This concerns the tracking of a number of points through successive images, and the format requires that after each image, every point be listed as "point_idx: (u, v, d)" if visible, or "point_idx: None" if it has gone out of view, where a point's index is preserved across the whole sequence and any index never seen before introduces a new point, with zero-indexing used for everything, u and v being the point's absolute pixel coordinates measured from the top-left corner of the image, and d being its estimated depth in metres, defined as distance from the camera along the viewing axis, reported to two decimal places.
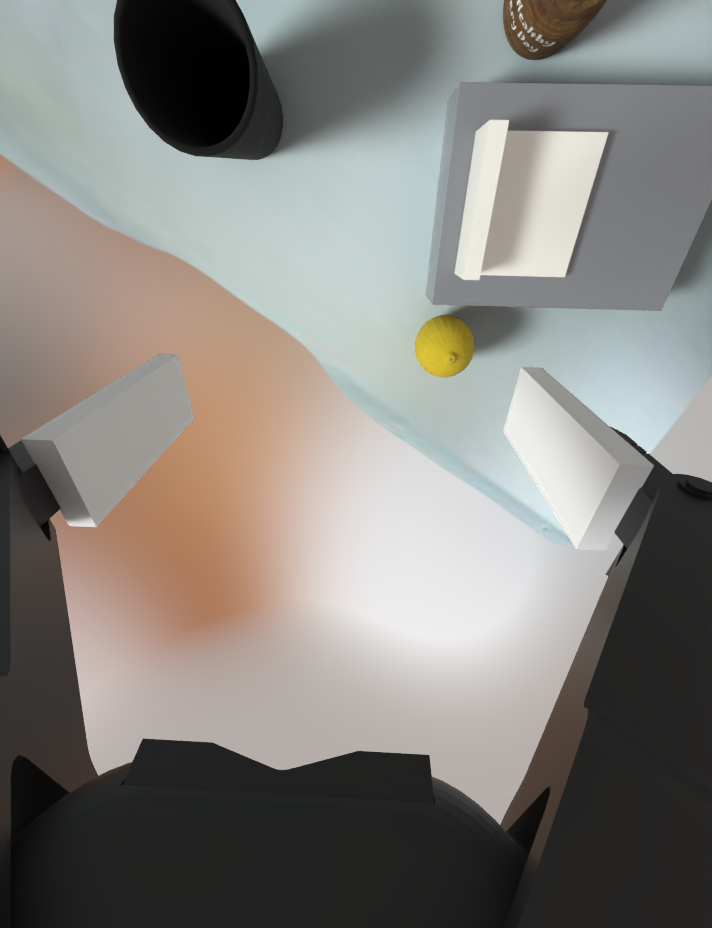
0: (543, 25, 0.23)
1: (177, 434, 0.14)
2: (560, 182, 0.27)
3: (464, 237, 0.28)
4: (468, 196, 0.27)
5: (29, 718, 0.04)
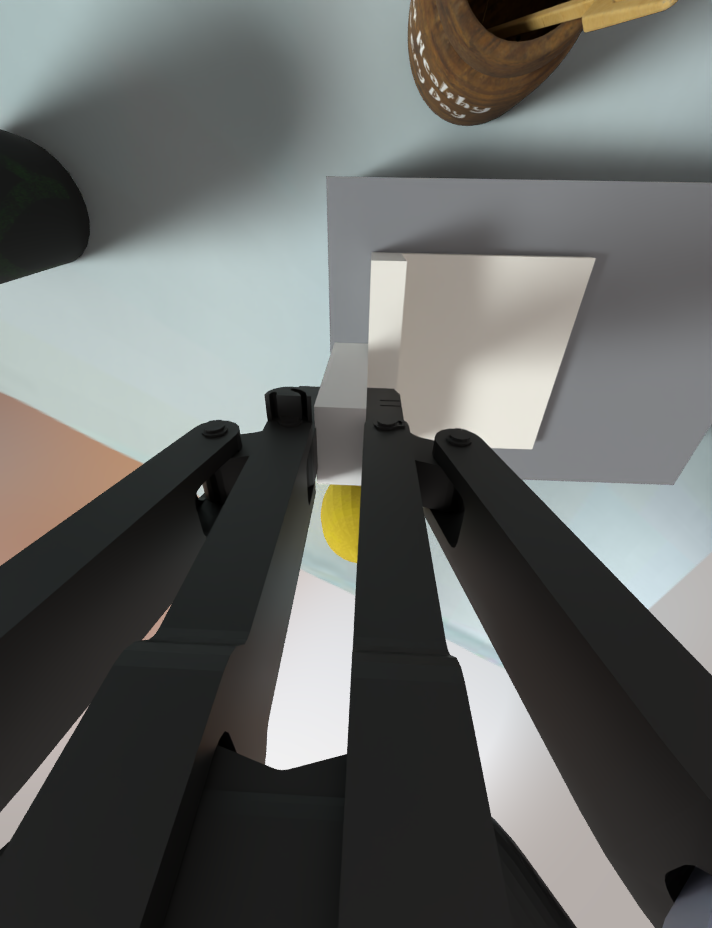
0: (462, 82, 0.13)
1: None
2: (517, 328, 0.16)
3: None
4: None
5: (244, 689, 0.05)
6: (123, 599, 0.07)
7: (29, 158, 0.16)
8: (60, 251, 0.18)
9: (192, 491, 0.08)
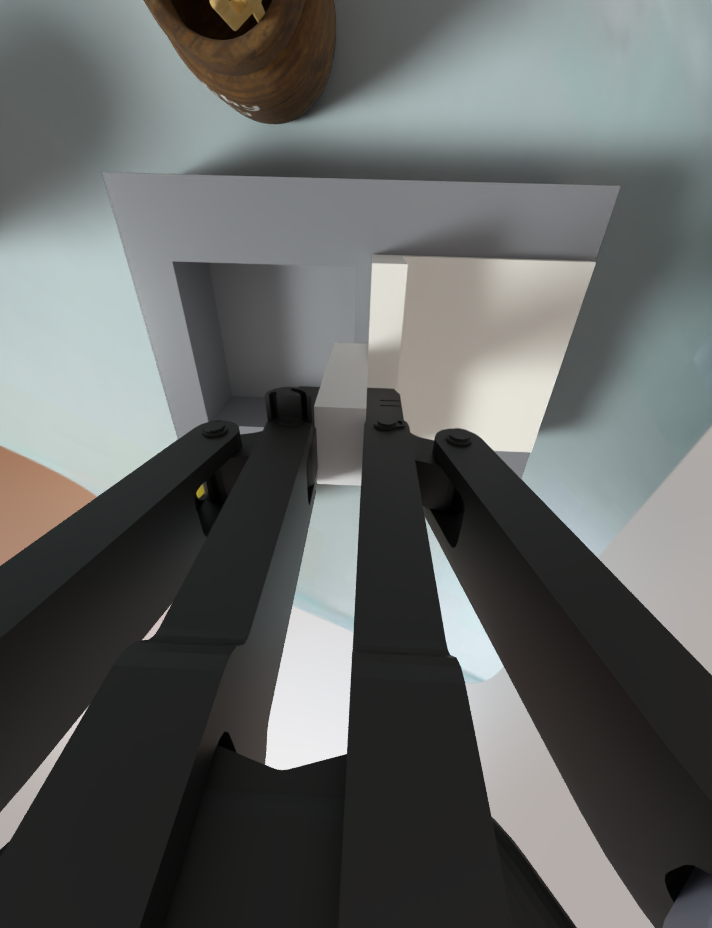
0: (210, 80, 0.13)
1: None
2: (517, 331, 0.16)
3: None
4: None
5: (244, 688, 0.05)
6: (123, 599, 0.07)
7: None
8: None
9: (192, 490, 0.08)
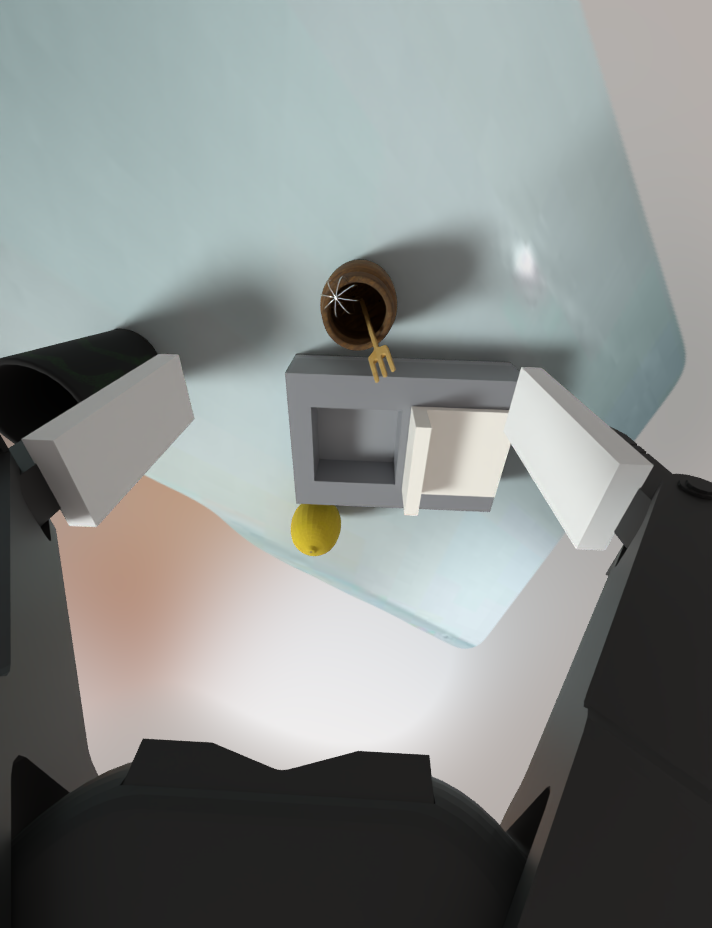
0: None
1: (177, 434, 0.14)
2: (484, 441, 0.32)
3: (405, 478, 0.33)
4: (407, 449, 0.33)
5: (29, 718, 0.04)
6: None
7: (137, 349, 0.32)
8: None
9: None
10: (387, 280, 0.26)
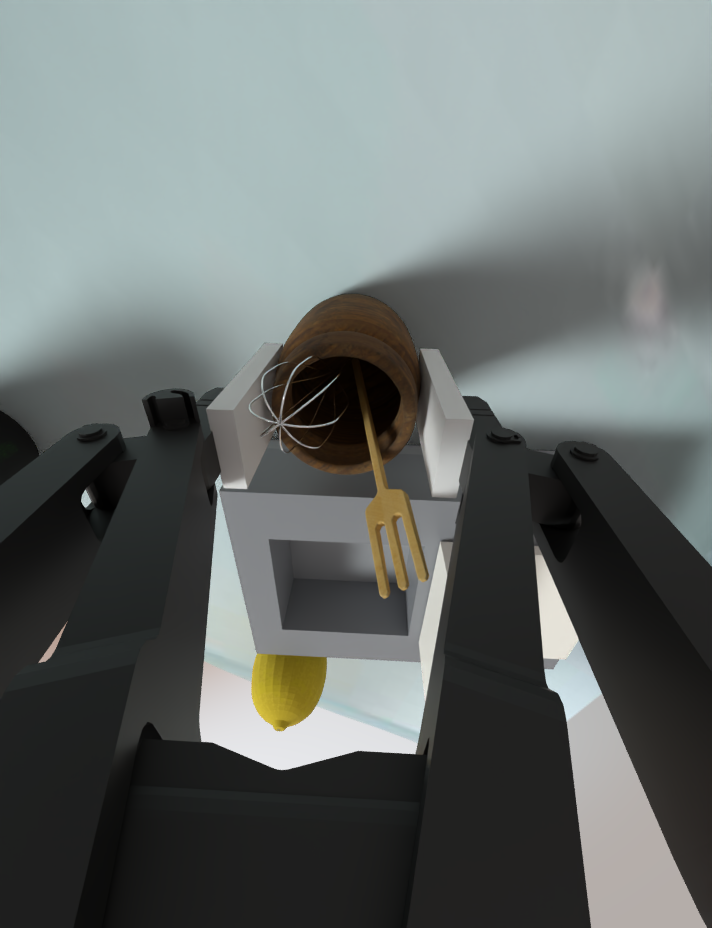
0: None
1: None
2: None
3: (427, 646, 0.20)
4: (432, 604, 0.20)
5: (163, 682, 0.05)
6: (14, 613, 0.06)
7: None
8: None
9: (76, 495, 0.08)
10: (403, 342, 0.13)
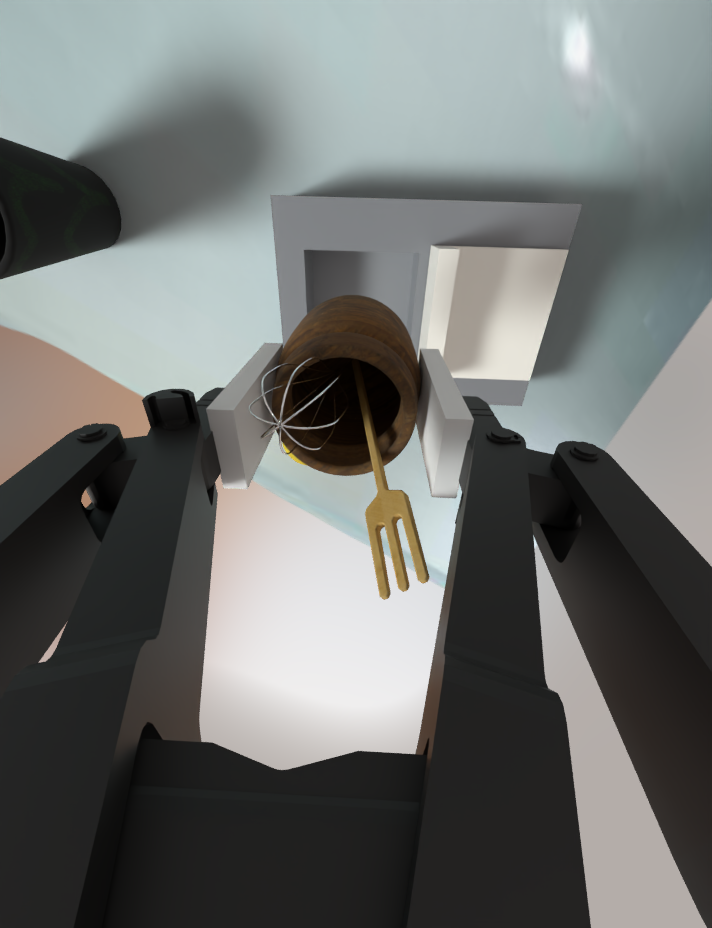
0: None
1: None
2: (520, 294, 0.26)
3: (422, 347, 0.27)
4: (425, 307, 0.26)
5: (163, 683, 0.05)
6: (14, 613, 0.06)
7: (87, 180, 0.26)
8: (103, 239, 0.28)
9: (76, 495, 0.08)
10: (403, 343, 0.13)
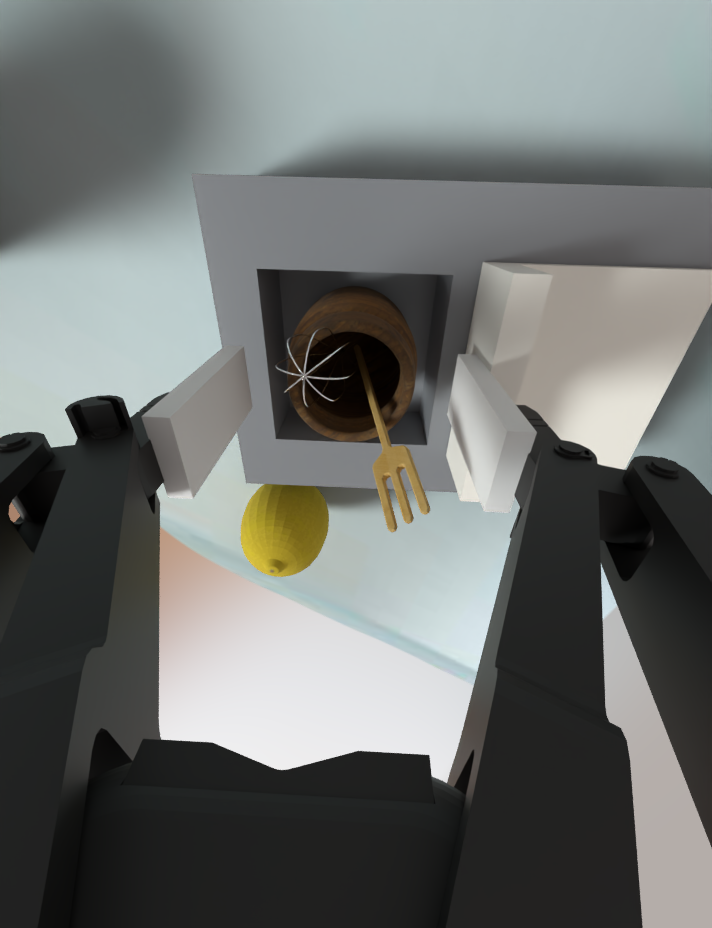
0: None
1: (241, 420, 0.15)
2: (630, 344, 0.15)
3: None
4: None
5: (115, 689, 0.05)
6: None
7: None
8: None
9: (2, 506, 0.07)
10: (401, 323, 0.15)
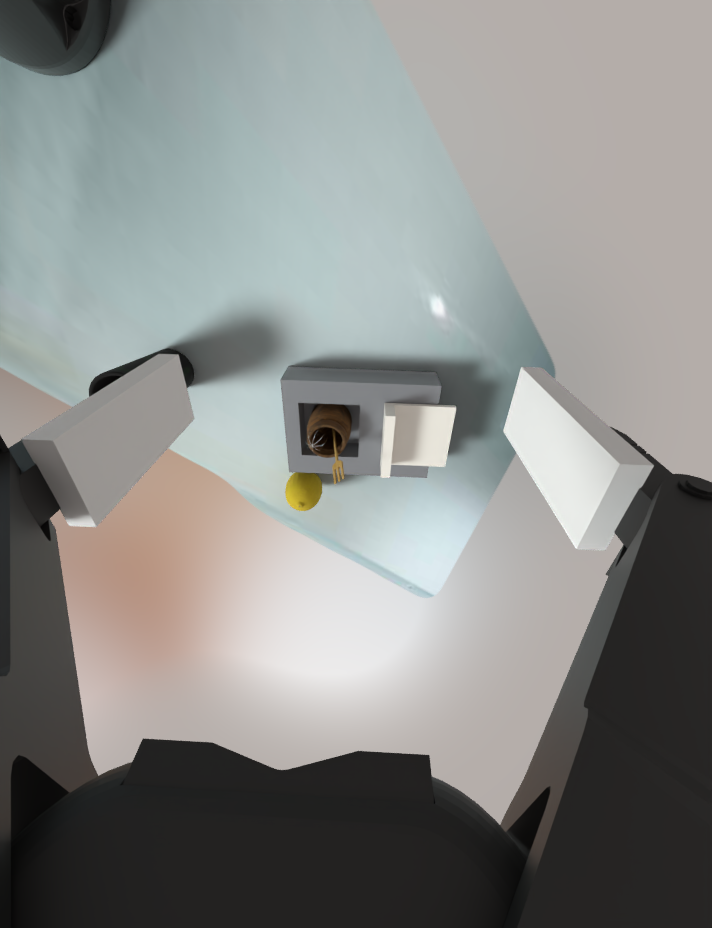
0: None
1: (177, 434, 0.14)
2: (434, 426, 0.47)
3: None
4: None
5: (29, 718, 0.04)
6: None
7: None
8: None
9: None
10: (343, 420, 0.47)
